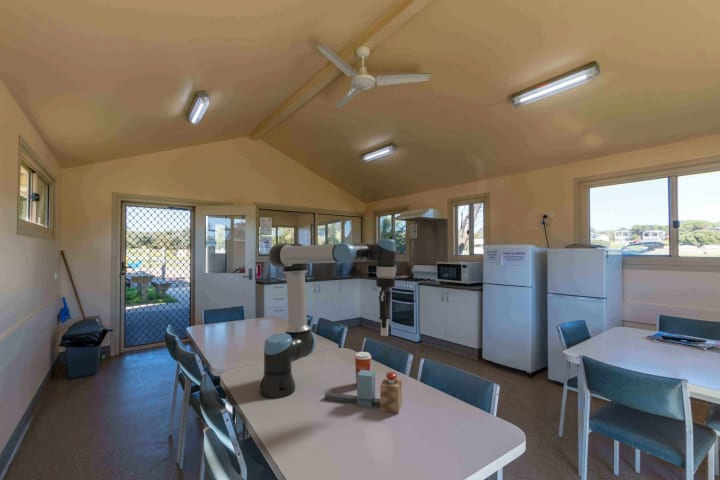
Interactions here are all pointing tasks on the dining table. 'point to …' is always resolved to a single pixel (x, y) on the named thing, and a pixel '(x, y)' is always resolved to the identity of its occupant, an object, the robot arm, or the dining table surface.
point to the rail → (348, 399)
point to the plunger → (391, 377)
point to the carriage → (365, 388)
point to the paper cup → (362, 362)
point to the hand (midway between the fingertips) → (384, 335)
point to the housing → (391, 396)
